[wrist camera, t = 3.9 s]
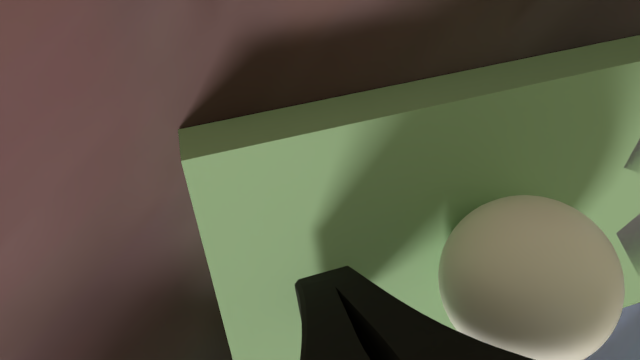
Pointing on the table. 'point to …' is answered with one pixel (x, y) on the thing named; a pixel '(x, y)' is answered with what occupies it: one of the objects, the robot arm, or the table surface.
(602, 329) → the ball
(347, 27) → the table surface
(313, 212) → the putting mat
